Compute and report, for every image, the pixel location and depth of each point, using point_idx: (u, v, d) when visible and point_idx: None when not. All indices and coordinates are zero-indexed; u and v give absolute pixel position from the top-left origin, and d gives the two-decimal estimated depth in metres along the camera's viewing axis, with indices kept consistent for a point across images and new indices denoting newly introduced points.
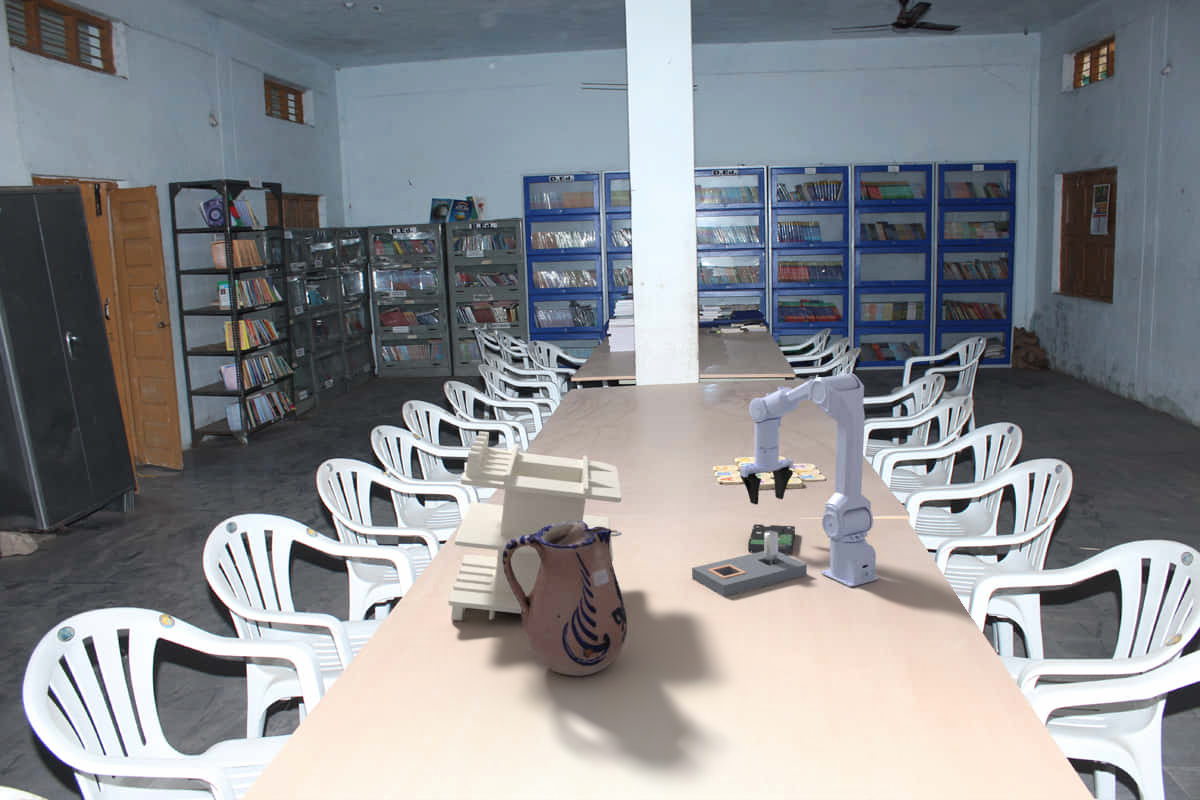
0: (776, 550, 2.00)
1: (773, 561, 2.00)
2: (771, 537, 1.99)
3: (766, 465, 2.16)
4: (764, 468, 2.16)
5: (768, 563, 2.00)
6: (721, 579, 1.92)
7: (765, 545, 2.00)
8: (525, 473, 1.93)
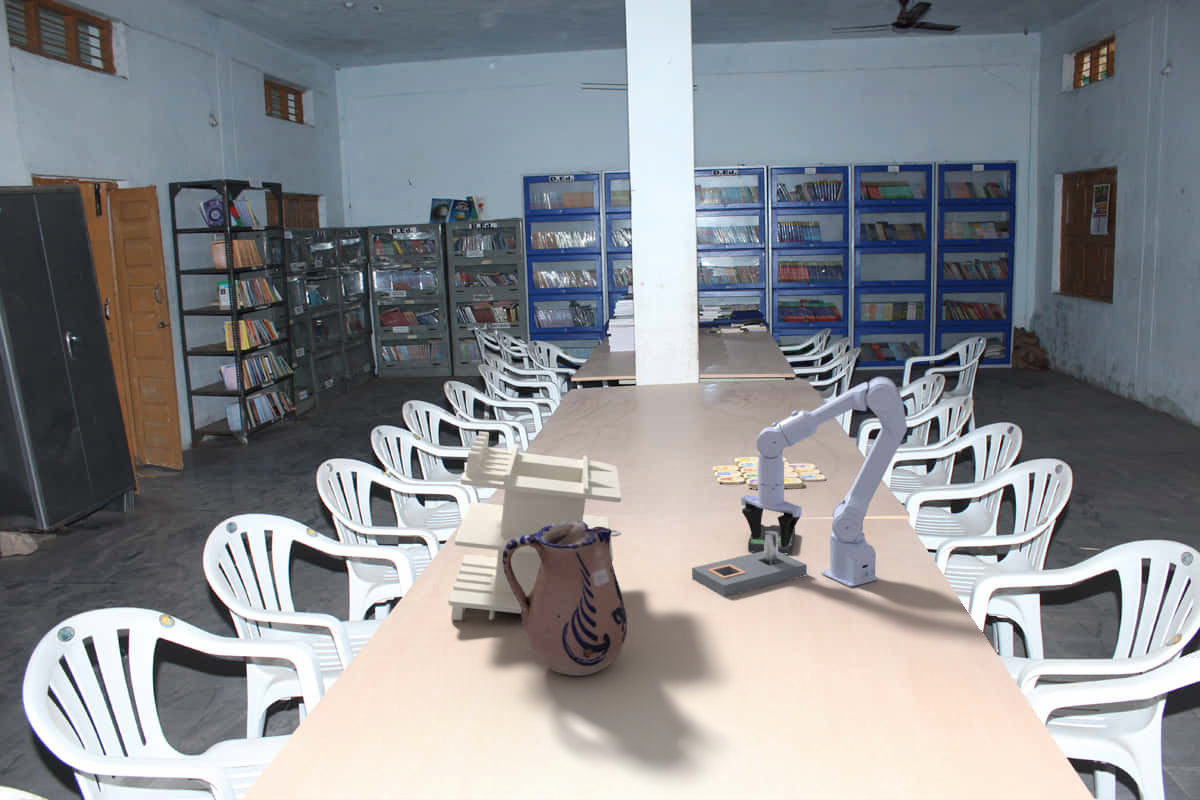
0: (776, 550, 2.00)
1: (773, 561, 2.00)
2: (770, 537, 1.99)
3: (758, 500, 1.99)
4: (755, 503, 1.99)
5: (768, 563, 2.00)
6: (721, 579, 1.92)
7: (765, 545, 2.00)
8: (525, 473, 1.93)
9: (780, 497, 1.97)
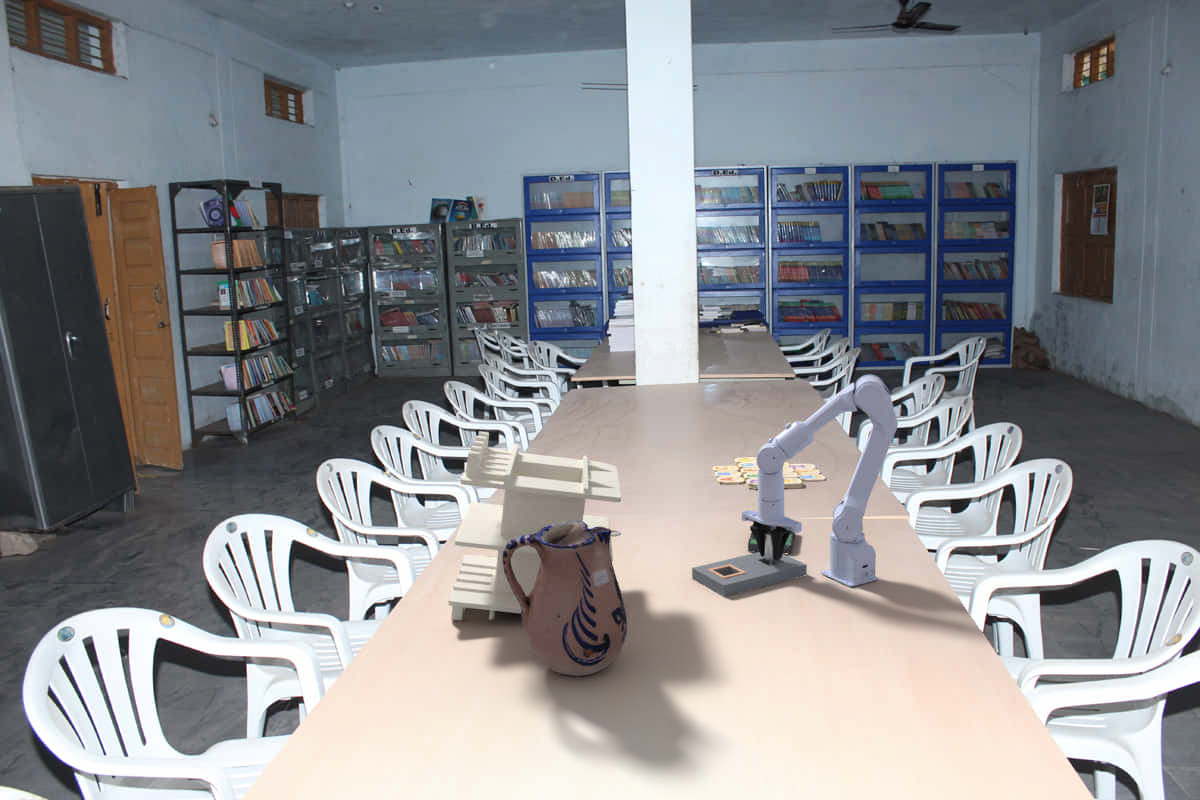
0: None
1: (773, 561, 2.00)
2: (770, 537, 1.99)
3: (758, 516, 2.00)
4: (755, 518, 2.00)
5: (768, 563, 2.00)
6: (721, 579, 1.92)
7: (765, 545, 2.00)
8: (525, 473, 1.93)
9: (780, 513, 1.97)
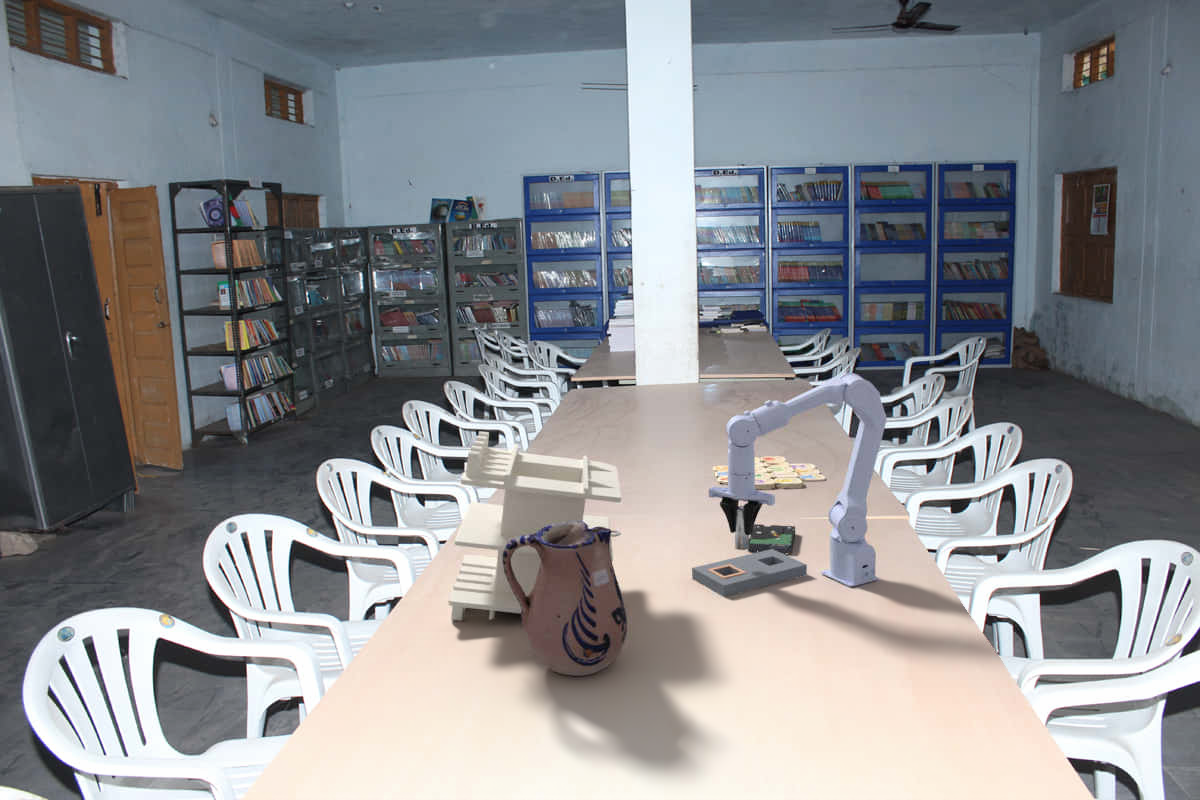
0: None
1: (745, 537, 1.96)
2: (742, 512, 1.95)
3: (729, 491, 1.94)
4: (726, 494, 1.95)
5: (739, 539, 1.96)
6: (721, 579, 1.92)
7: (736, 520, 1.96)
8: (525, 473, 1.93)
9: (753, 487, 1.93)
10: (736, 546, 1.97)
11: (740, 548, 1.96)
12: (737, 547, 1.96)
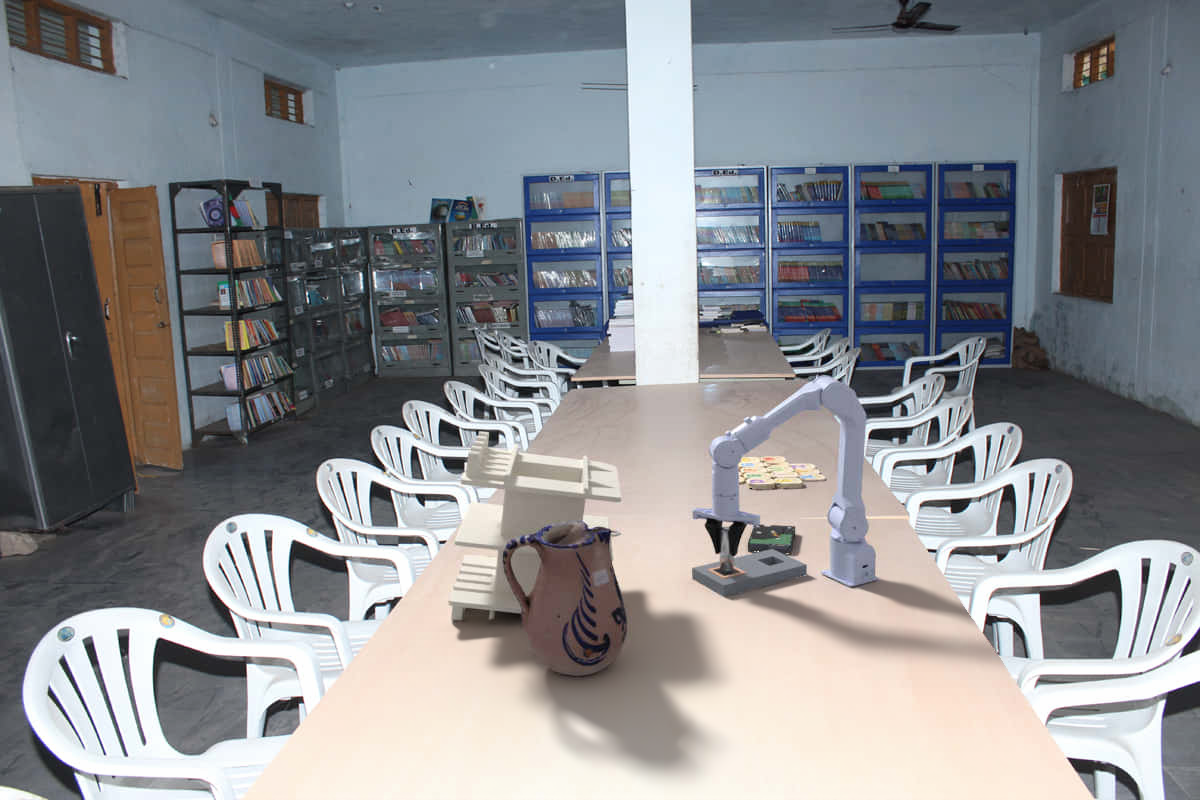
0: None
1: (730, 558, 1.94)
2: (727, 533, 1.93)
3: (714, 513, 1.93)
4: (711, 515, 1.93)
5: (725, 560, 1.95)
6: (721, 579, 1.92)
7: (721, 541, 1.94)
8: (525, 473, 1.93)
9: (737, 507, 1.92)
10: (721, 567, 1.95)
11: (725, 569, 1.95)
12: (722, 568, 1.95)
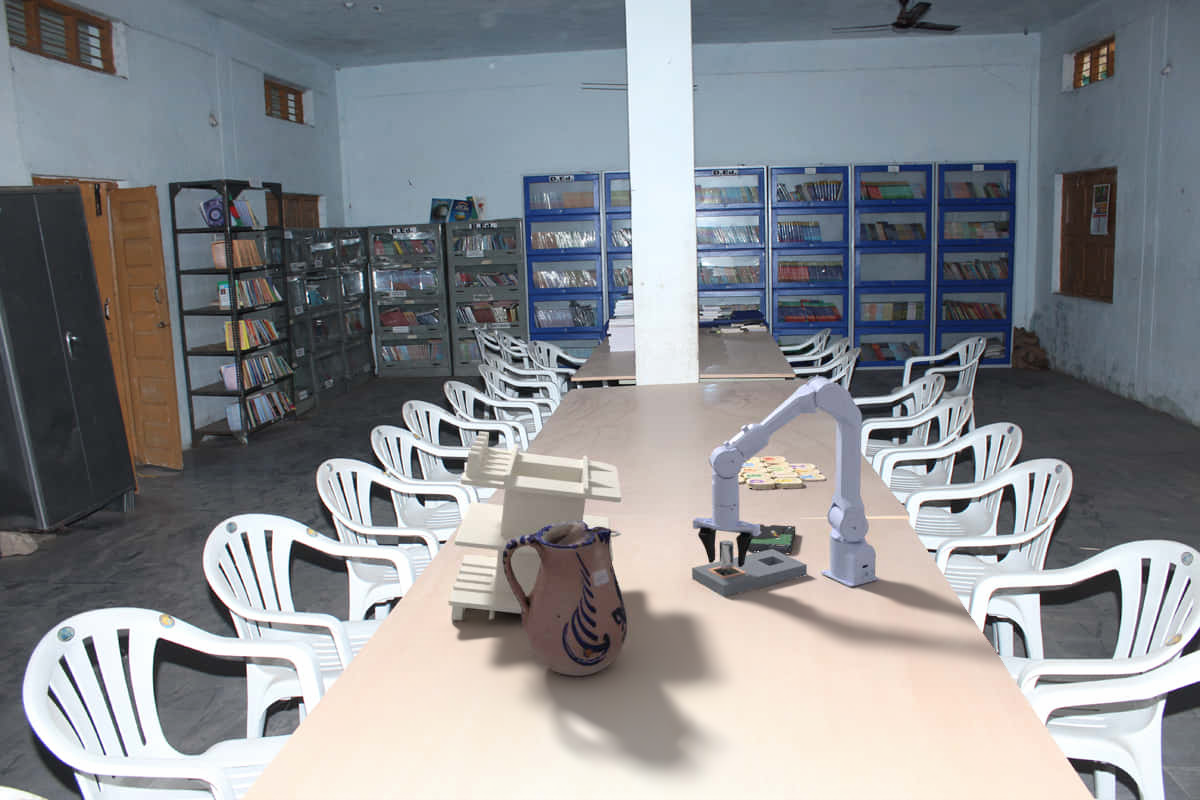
0: (732, 560, 1.95)
1: (730, 572, 1.95)
2: (727, 547, 1.94)
3: (714, 522, 1.93)
4: (711, 525, 1.93)
5: (725, 574, 1.95)
6: (721, 579, 1.92)
7: (721, 556, 1.95)
8: (525, 473, 1.93)
9: (738, 517, 1.92)
10: None
11: None
12: None
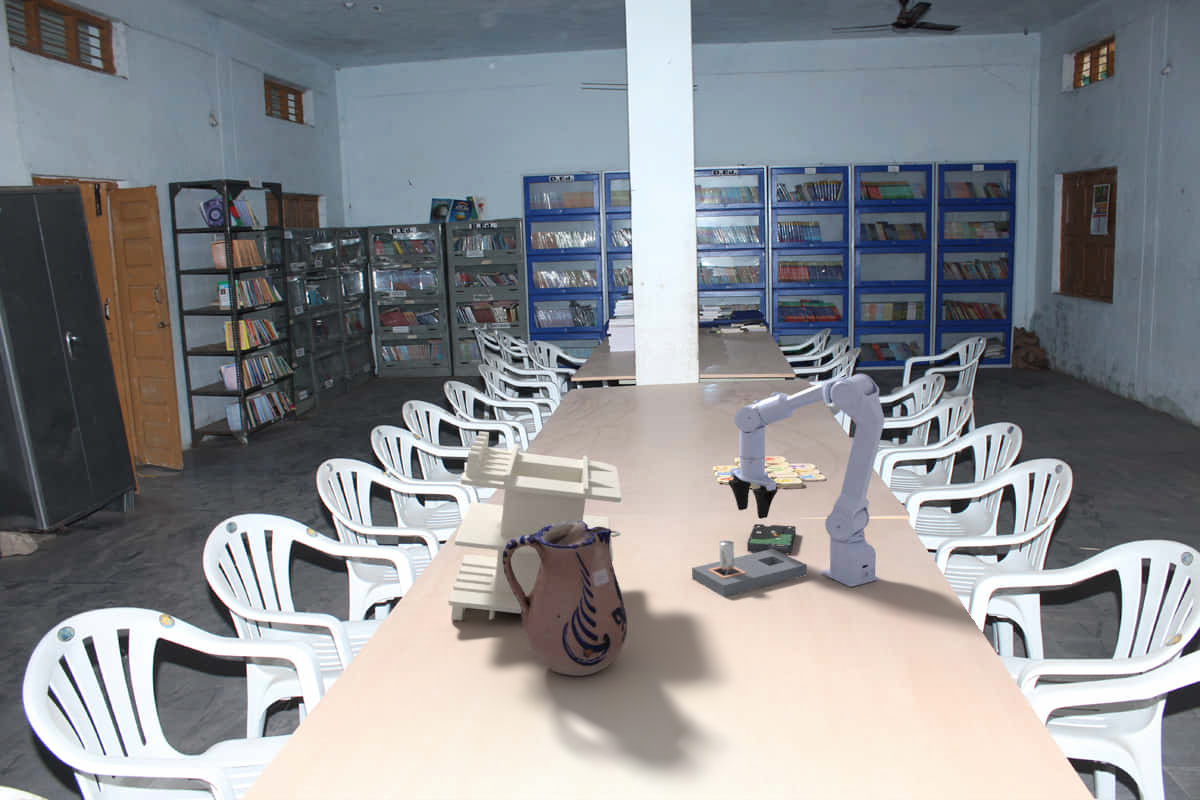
0: (732, 560, 1.95)
1: (730, 572, 1.95)
2: (727, 547, 1.94)
3: (739, 473, 2.09)
4: (737, 475, 2.10)
5: (725, 574, 1.95)
6: (721, 579, 1.92)
7: (721, 556, 1.95)
8: (525, 473, 1.93)
9: (758, 471, 2.06)
10: None
11: None
12: None
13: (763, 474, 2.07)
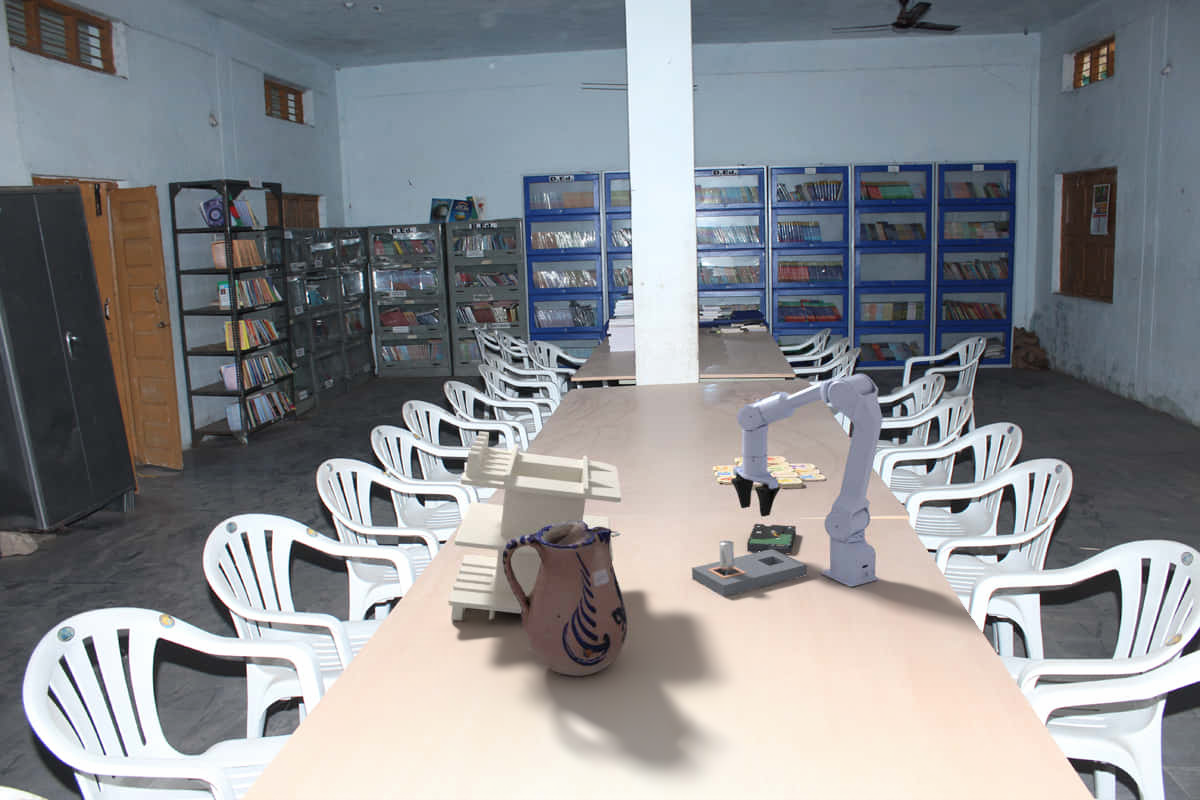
0: (732, 560, 1.95)
1: (730, 572, 1.95)
2: (727, 547, 1.94)
3: (742, 471, 2.11)
4: (740, 473, 2.11)
5: (725, 574, 1.95)
6: (721, 579, 1.92)
7: (721, 556, 1.95)
8: (525, 473, 1.93)
9: (761, 469, 2.07)
10: None
11: None
12: None
13: (765, 472, 2.08)
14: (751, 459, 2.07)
